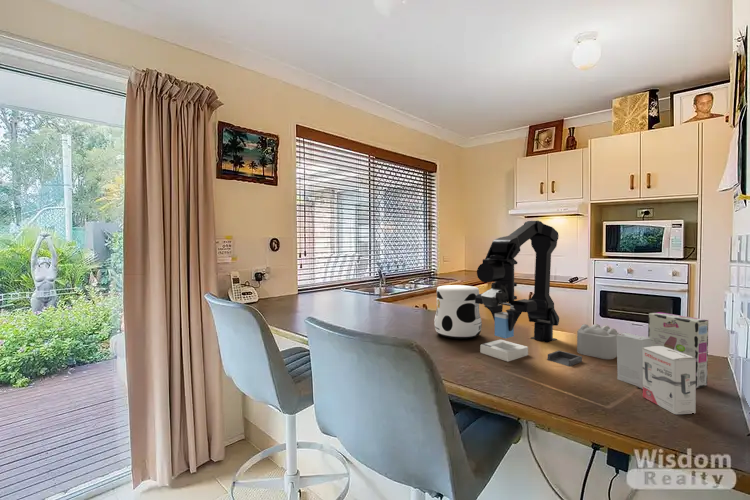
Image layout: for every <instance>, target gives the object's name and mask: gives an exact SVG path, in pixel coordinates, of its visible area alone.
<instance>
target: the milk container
mask: <svg viewBox="0 0 750 500" xmlns="http://www.w3.org/2000/svg"><path fill="white" fill-rule="evenodd" d="M479 290H480V289H479V287H477V286H473V285H463V284H452V285H451V284H448V285H447V284H446V285H439V286H437V288H436V312H435V316H434V321H433V322H434V329H435V331H436V332H435V333H437V334H438V335H439V336H442V337H445V338H448V339H449V338H450V339H457V340H459V339H460V340H463V339H464V340H466V339H472V338H475V337H477V336H479V335H480V333H481V332H482V328H483V327H482V326H483V324H482V323H483V322H482V316H481V313H480V304H478V303H475V297H476V296H477V294H480V291H479Z"/></svg>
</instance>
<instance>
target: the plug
mask: <svg viewBox="0 0 750 500" xmlns="http://www.w3.org/2000/svg"><path fill="white" fill-rule="evenodd" d="M514 330H515V327H514V328H513V330H512V331H509V328H508V313H507V312H506V311H502V312H499V313H495V321H494V336H496V337H499V338H501V339H509V338H513V337H515V333H514Z"/></svg>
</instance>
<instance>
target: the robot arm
mask: <svg viewBox="0 0 750 500" xmlns="http://www.w3.org/2000/svg"><path fill="white" fill-rule="evenodd" d="M559 237H560V236H559V232H558V231H557V230H556V229H555V228H554V227H553V226H550V225H548V224H545V223H543V222H542V221H540V220H526V221H525V222H523V225H521V226H519V228H517V229H516V230H515V231H513V232H512V233H510V234H509V235H506V236H501V237H498V238H495V239H494V240H492V242H491V244H490V247H489V249H488V251H487V254H486V256H485V258H483V259H482V263H481V264H479V265H478V267H477V269H476V276H477V278H478V279H479V281H480V282H482V283H485V284H486V283H491V282H492V283H491V287H490V289H487V290H486V291H484V292H483V293H479V294H477V296H476V297H475V303H478V304H479V305H483V306H484V308H486V309H487V310H488V311H489V312H490V314H491V315H492V319H493V321H494V322H495V313H499V312H503V310H504V309H503V307H504V306H508V307H509V309H506V310H505V312H507V313H508V328H509V331H512V330H513V328H514V329H515V326H516V323H517V321H518V320H519V317H520V316H521V314H522V313H527V316H528V322H530V323H534V325H533V327H534V329H533V336H532V337H530V339H531V340H535V341H539V342H542V343H551V342H554V341H557V340H558V339H557V338H553V335H554V328H553V327H554V326H559V323H560V316H559V315H558V313H557V311H556V309H555V301H554V300H553V299H552V297H551V296H550V292H551V291H550V289H551V288H550V285H551V263H552V253H553V251H555V249H556V248H557V245H558V240H559ZM529 240H530V243H531V248H532V249H533V250H534V252H535V265H534V267H535V268H534V289H533V290H534V291H533V292H534V293H533V295H532V296H531V298H528V299H527V298H526V299H525V298H524V299H518V296H517V295H515V287H517V286H518V282H515V266H516V265H518V261H517V260H516V259H515V258H516V257H517V255H518V254H519V253H520V252H521V247H522V245H523V244H525V243H527V241H529ZM517 299H518V300H517Z"/></svg>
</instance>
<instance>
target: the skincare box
mask: <svg viewBox="0 0 750 500" xmlns="http://www.w3.org/2000/svg"><path fill="white" fill-rule="evenodd" d="M643 347H651V338H648V336H642V335H637V334H633V333H630V332H624V333H619V334H618V335H617V357H616V361H617V363H616V364H617V365H616V367H617V380H618V381H621V382H623V383H627V384H629V385H633V386H636V387H638V388H639V389H642V390H643V352H642V348H643Z"/></svg>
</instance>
